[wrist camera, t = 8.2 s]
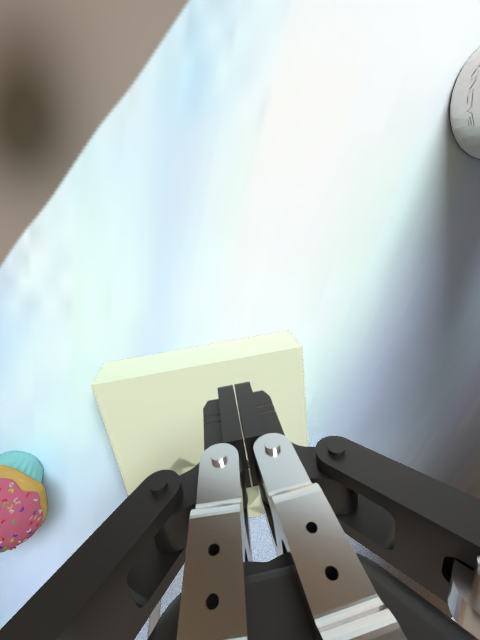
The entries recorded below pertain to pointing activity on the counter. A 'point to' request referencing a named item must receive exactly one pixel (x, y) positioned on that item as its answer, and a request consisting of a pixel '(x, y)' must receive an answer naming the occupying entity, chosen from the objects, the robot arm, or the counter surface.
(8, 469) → the cupcake
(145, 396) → the board
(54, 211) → the counter surface
